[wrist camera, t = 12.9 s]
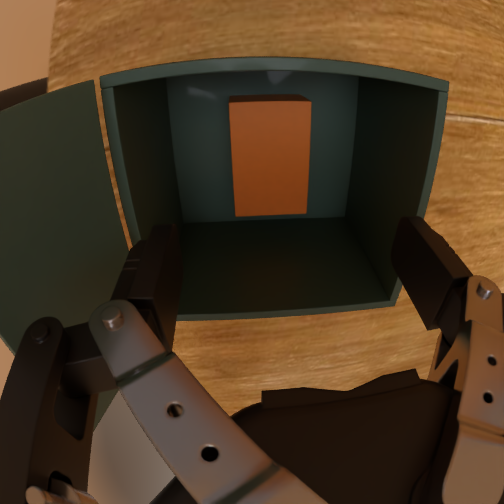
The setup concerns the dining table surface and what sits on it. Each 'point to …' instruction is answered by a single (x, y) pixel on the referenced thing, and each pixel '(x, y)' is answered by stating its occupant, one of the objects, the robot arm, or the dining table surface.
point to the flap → (56, 216)
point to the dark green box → (319, 184)
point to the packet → (270, 153)
